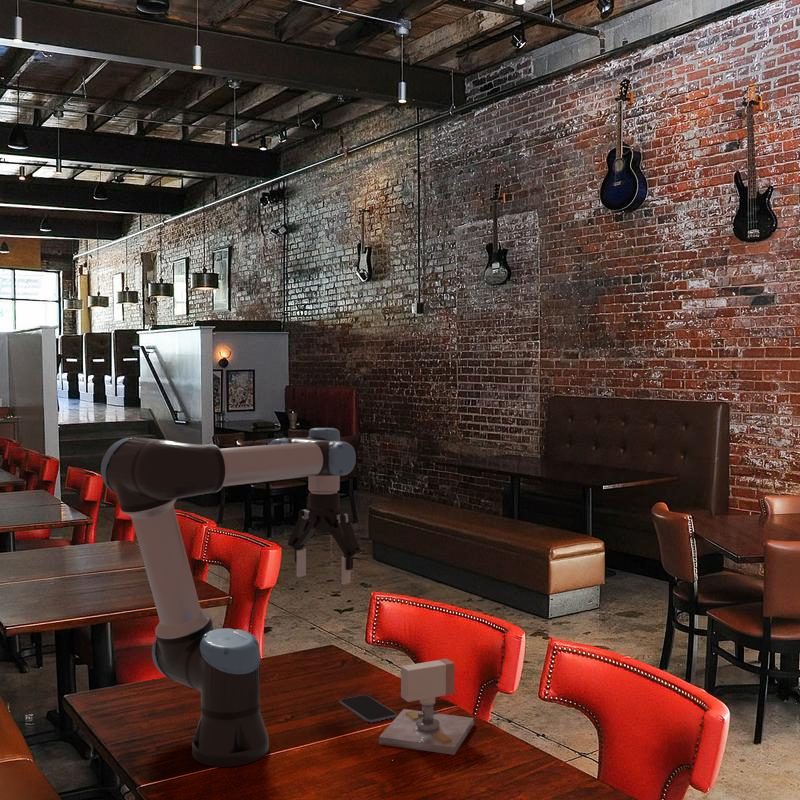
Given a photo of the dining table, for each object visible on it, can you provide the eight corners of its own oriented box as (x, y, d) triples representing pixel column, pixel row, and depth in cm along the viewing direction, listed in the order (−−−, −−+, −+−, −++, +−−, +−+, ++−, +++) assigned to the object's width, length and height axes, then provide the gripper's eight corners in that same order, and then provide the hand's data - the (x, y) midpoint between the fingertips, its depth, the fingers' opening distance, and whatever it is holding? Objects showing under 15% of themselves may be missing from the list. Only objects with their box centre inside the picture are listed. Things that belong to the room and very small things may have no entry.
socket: (454, 754, 176) (454, 722, 175) (379, 744, 181) (379, 712, 180) (473, 724, 191) (473, 695, 190) (403, 715, 196) (403, 686, 196)
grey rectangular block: (408, 709, 182) (408, 670, 181) (400, 703, 185) (400, 665, 184) (454, 700, 186) (454, 663, 186) (446, 695, 189) (446, 658, 189)
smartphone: (365, 694, 208) (398, 714, 195) (365, 698, 208) (398, 718, 195) (337, 699, 204) (369, 720, 191) (337, 703, 204) (369, 725, 191)
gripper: (375, 494, 209) (374, 583, 209) (293, 486, 222) (292, 570, 222) (357, 497, 202) (356, 589, 203) (274, 489, 216) (273, 575, 216)
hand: (323, 579), depth 213 cm, fingers open, 13 cm apart
